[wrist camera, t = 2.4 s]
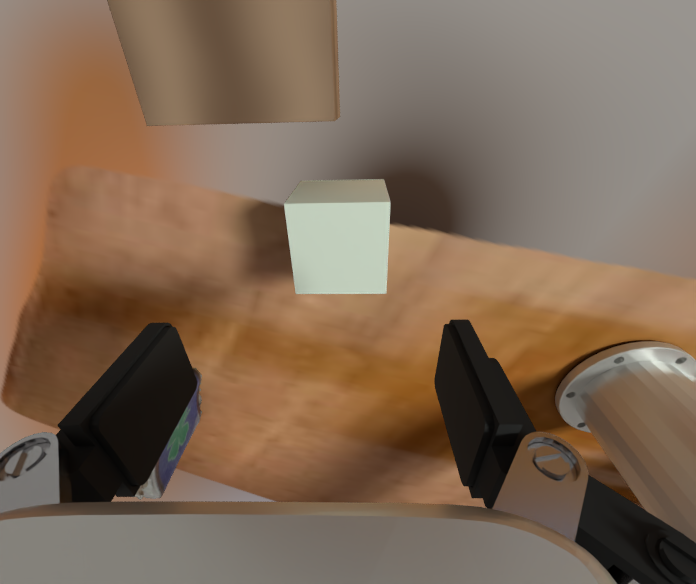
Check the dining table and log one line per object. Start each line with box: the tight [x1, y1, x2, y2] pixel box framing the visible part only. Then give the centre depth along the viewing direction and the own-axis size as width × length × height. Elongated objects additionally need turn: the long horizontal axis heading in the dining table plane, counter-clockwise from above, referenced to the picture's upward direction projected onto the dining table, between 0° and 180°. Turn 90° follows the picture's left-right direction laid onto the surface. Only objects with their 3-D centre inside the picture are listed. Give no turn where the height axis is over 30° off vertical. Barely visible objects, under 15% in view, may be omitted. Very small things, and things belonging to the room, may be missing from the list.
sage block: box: [284, 179, 390, 294], centre depth 22 cm, size 6×6×6 cm
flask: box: [135, 368, 202, 500], centre depth 31 cm, size 9×3×11 cm, turn 165°
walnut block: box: [107, 0, 340, 126], centre depth 16 cm, size 10×10×5 cm
